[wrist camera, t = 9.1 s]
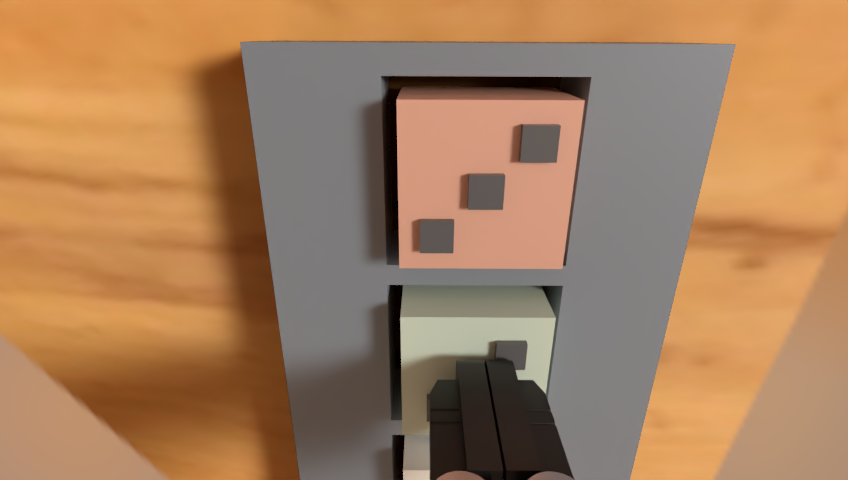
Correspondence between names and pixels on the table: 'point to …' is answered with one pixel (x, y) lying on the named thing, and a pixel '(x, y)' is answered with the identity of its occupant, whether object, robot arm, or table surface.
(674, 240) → the slate board
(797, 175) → the table surface
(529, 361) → the tile two sage
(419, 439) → the tile one cream
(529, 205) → the tile three terracotta
